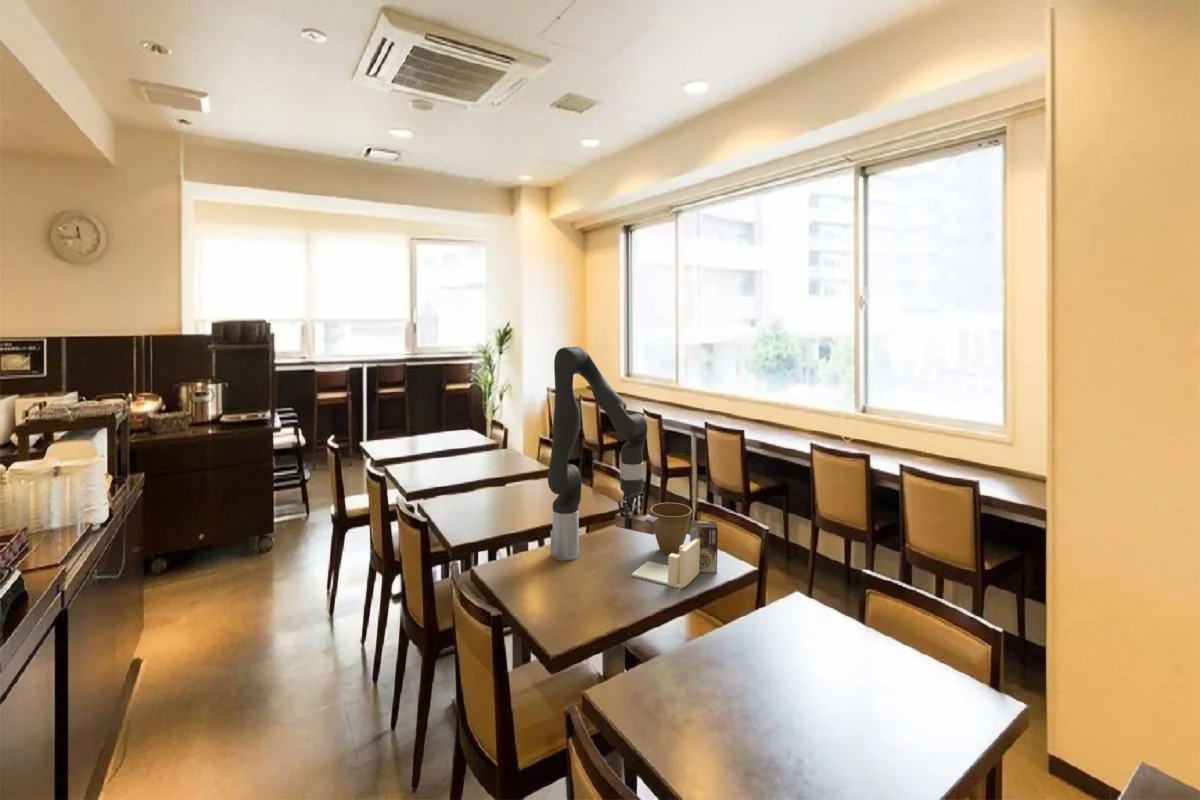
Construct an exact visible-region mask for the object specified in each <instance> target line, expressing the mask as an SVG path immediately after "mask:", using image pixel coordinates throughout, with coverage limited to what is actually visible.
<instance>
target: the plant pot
mask: <svg viewBox="0 0 1200 800" xmlns="http://www.w3.org/2000/svg"><path fill="white" fill-rule="evenodd" d="M692 511H693V510H692V509H691V507H689V506H688V505H686V504H683V503H680V502H679V503H677V502H661V503H657V504H653V505H652V506H651V507H650V516H653V517H658V518H659V531H658V532H657V533H655V534H654V535H655V539H656V542H657V545H658V548H659V551H660V552H661V553H662V554H665V555H670V554H671V553H674V554H678V555H679V547H680V546H681V545H682V544H683V545H685V544H684V543H685V541H686V538H687V534H688V531H689V529H690V528H689V526H690V521H691V517H692Z"/></svg>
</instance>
